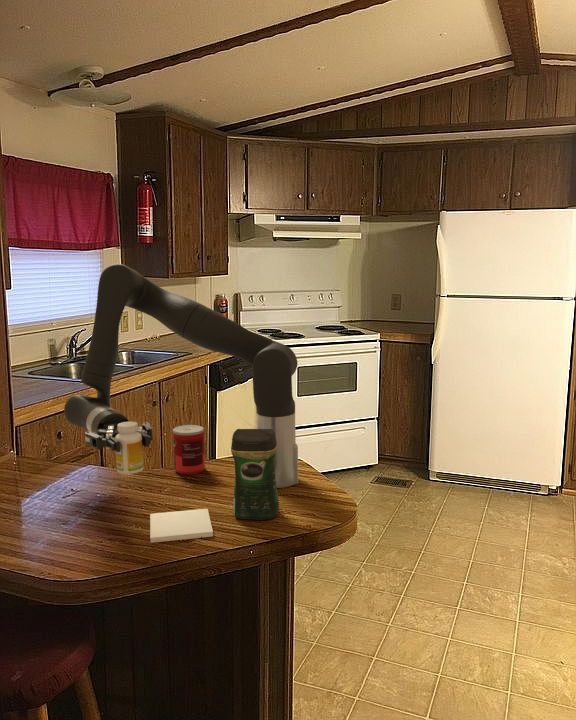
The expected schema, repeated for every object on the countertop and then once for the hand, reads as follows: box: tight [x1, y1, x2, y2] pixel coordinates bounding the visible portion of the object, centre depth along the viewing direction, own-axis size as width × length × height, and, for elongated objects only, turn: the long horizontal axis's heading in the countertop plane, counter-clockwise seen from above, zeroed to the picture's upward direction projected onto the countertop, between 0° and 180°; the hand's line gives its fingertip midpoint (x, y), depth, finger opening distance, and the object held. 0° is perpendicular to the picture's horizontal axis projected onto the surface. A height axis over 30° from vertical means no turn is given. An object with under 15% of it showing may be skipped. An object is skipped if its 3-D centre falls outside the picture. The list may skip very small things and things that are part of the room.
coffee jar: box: [230, 428, 280, 520], centre depth 138 cm, size 10×8×19 cm
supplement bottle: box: [115, 421, 145, 475], centre depth 133 cm, size 5×5×10 cm
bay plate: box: [149, 508, 214, 543], centre depth 134 cm, size 12×12×1 cm
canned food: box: [172, 424, 206, 475], centre depth 168 cm, size 8×8×11 cm
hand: (133, 444), depth 131 cm, fingers closed on supplement bottle, 5 cm apart
